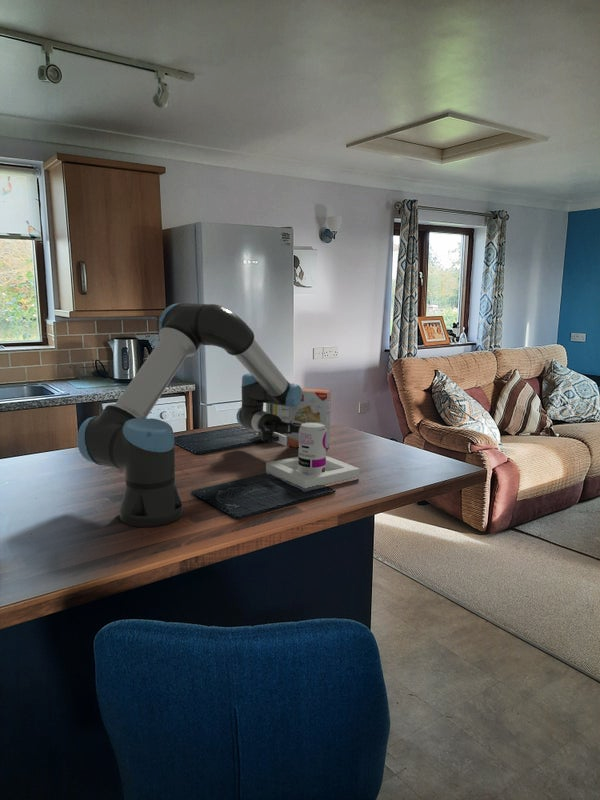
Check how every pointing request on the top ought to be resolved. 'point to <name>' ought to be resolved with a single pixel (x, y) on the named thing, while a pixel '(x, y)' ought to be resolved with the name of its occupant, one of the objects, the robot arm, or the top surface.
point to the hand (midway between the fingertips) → (304, 437)
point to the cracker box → (311, 412)
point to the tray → (333, 474)
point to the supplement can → (312, 448)
